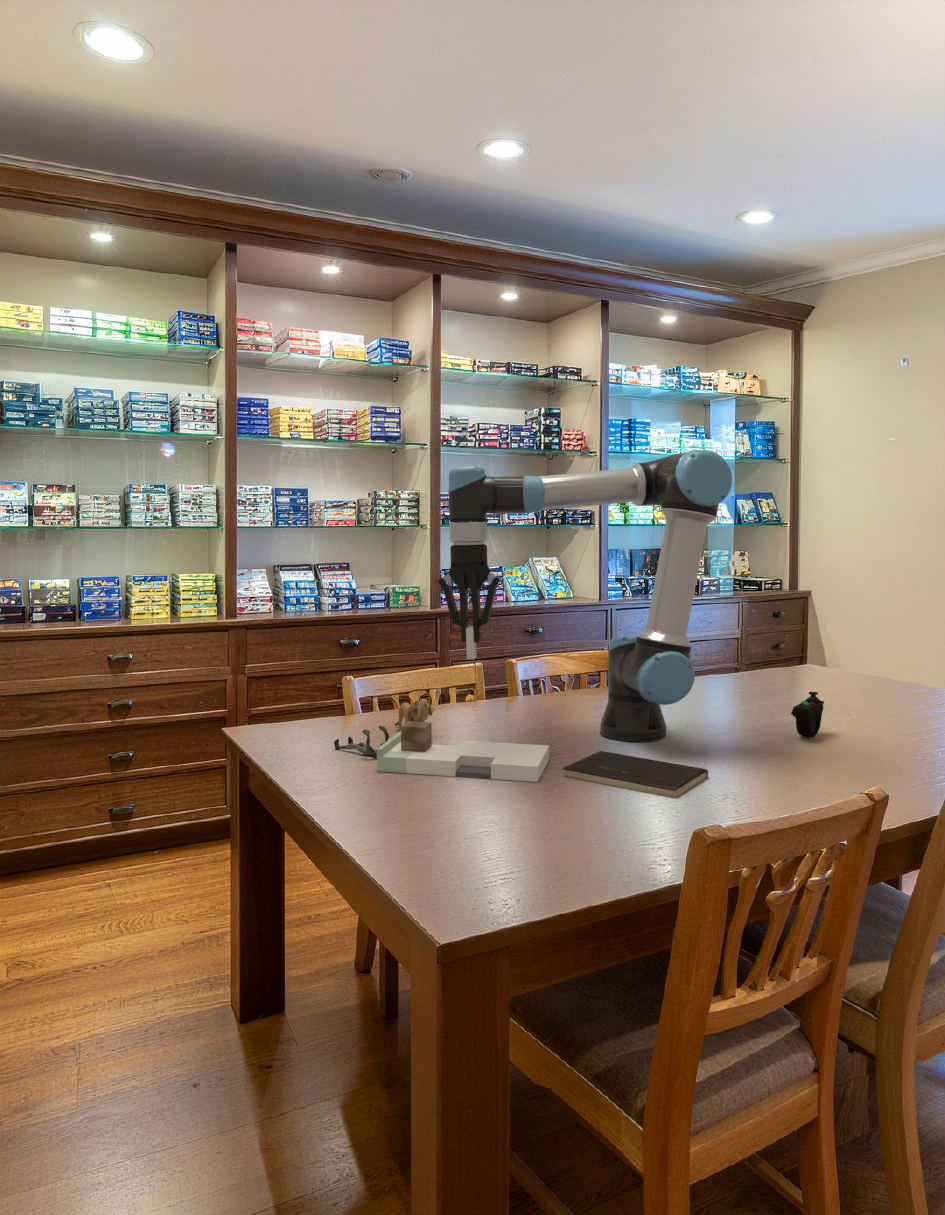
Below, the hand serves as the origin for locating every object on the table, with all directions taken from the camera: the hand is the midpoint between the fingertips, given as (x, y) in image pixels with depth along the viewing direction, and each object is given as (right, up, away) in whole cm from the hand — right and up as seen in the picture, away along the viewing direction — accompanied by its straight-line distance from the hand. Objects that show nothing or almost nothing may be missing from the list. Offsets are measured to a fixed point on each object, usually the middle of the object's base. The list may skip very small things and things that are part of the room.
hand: (471, 658), depth 176 cm
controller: (+77, -20, +20) cm, 82 cm away
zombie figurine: (-23, -21, +6) cm, 32 cm away
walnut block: (-11, -18, -2) cm, 22 cm away
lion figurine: (-14, -19, +24) cm, 34 cm away
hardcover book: (+32, -23, -11) cm, 41 cm away
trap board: (-1, -22, -3) cm, 22 cm away
